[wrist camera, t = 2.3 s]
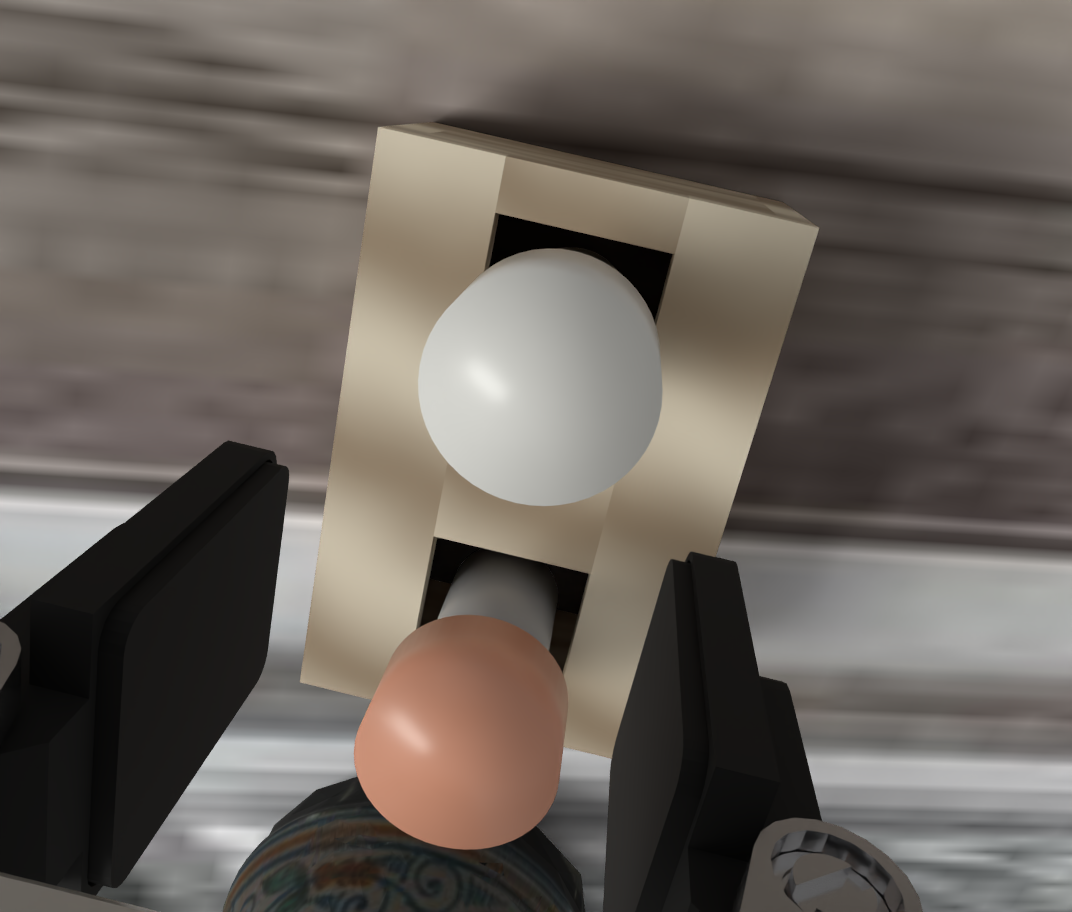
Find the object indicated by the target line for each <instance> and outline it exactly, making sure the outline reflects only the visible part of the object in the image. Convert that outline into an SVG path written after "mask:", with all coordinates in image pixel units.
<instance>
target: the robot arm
mask: <svg viewBox="0 0 1072 912" xmlns="http://www.w3.org/2000/svg"><path fill="white" fill-rule="evenodd" d="M288 483H289V470H288V468H287V467H286V466H282V465H278V464H277V461H276V455H275V453H274V452H273V451H270V450H266V449H261V448H257V447H253V446H249V445H245V444H240V443H236V442H232V441H227V442H225V443H223V444H222V445H221V446H219V447H218V448H217V449H216V450H214V451H213V452H212V453H211V454H209V455H208V456H207V457H206V458H205V459H203V460H202V461H201V462H200V463H198V464H197V465H196V466H195V467H193V468H192V469H191V470H190V471H188V472H187V473H186V474H185V475H183V476H182V477H181V478H180V479H178V480H177V481H176V482H175V483H174V484H172V485H171V486H170V487H169V488H167V489H166V490H165V491H164V492H162V493H161V494H160V495H159V496H157V497H156V498H155V499H154V500H152V501H151V502H150V503H149V504H147V505H146V506H145V507H144V508H143V509H141V510H140V511H139V512H138V513H136V514H135V515H134V516H133V517H131V518H130V519H129V520H128V521H126V522H125V523H123V524H121V525H119V526H118V527H116V528H114V529H113V530H112V531H110V532H109V533H108V534H107V535H105V536H104V537H103V538H102V539H100V540H99V541H98V542H97V543H95V544H94V545H93V546H92V547H90V548H89V549H88V550H87V551H85V552H84V553H83V554H82V555H80V556H79V557H78V558H77V559H75V560H74V561H73V562H72V563H70V564H69V565H68V566H67V567H65V568H64V569H63V570H62V571H60V572H59V573H58V574H57V575H55V576H54V577H53V578H52V579H50V580H49V581H48V582H47V583H45V584H44V585H43V586H42V587H40V588H39V589H38V590H37V591H35V592H34V593H33V594H32V595H30V596H29V597H28V598H27V599H25V600H24V601H23V602H22V603H20V604H19V605H18V606H17V607H15V608H14V609H13V610H12V611H10V612H9V613H8V614H7V615H5V616H4V617H3V618H2V619H0V912H158V911H154V910H150V909H146V908H142V907H138V906H135V905H131V904H127V903H123V902H119V901H115V900H111V899H107V898H103V897H99V896H96V895H97V893H98V892H99V890H100V889H101V888H102V886H107V887H111V888H117V887H118V886H120V885H121V884H122V883H123V881H124V880H125V879H126V877H127V876H128V874H129V873H130V871H131V870H132V868H133V867H134V865H135V864H136V862H137V861H138V859H139V858H140V856H141V855H142V854H143V852H144V851H145V849H146V848H147V846H148V845H149V843H150V842H151V840H152V839H153V837H154V836H155V834H156V833H157V831H158V830H159V828H160V827H161V825H162V824H163V822H164V821H165V819H166V818H167V816H168V815H169V813H170V812H171V810H172V809H173V807H174V806H175V804H176V803H177V801H178V800H179V798H180V797H181V795H182V794H183V792H184V791H185V789H186V788H187V786H188V785H189V783H190V782H191V780H192V779H193V777H194V776H195V774H196V773H197V771H198V770H199V768H200V767H201V765H202V764H203V762H204V761H205V759H206V758H207V756H208V755H209V753H210V752H211V750H212V749H213V747H214V746H215V745H216V743H217V742H218V740H219V739H220V737H221V736H222V734H223V733H224V731H225V730H226V728H227V727H228V725H229V724H230V722H231V721H232V719H233V718H234V716H235V715H236V713H237V712H238V710H239V709H240V707H241V706H242V704H243V703H244V701H245V700H246V698H247V697H248V695H249V694H250V692H251V691H252V689H253V688H254V686H255V685H256V683H257V681H258V680H259V678H260V675H261V673H262V671H263V668H264V665H265V661H266V657H267V651H268V644H269V636H270V628H271V620H272V612H273V604H274V596H275V588H276V580H277V572H278V564H279V556H280V548H281V540H282V531H283V523H284V515H285V507H286V499H287V491H288ZM603 912H923V911H922V907H921V903H920V898H919V896H918V894H917V893H916V891H915V889H914V888H913V886H912V884H911V882H910V881H909V879H908V877H907V876H906V875H905V874H904V873H903V872H902V870H901V869H900V868H899V867H898V866H897V865H896V864H895V863H894V862H893V861H892V860H891V859H890V858H889V857H888V856H887V855H886V854H885V853H883V852H882V851H880V850H879V849H878V848H876V847H875V846H874V845H872V844H871V843H870V842H868V841H867V840H866V839H864V838H862V837H860V836H858V835H856V834H854V833H852V832H850V831H848V830H846V829H844V828H842V827H839V826H836V825H833V824H830V823H826V822H823V821H822V819H821V815H820V811H819V807H818V803H817V799H816V795H815V791H814V787H813V783H812V779H811V775H810V771H809V766H808V762H807V758H806V754H805V750H804V746H803V742H802V738H801V734H800V730H799V726H798V722H797V718H796V714H795V710H794V706H793V702H792V698H791V694H790V690H789V688H788V686H787V684H786V683H784V682H782V681H777V680H773V679H769V678H765V677H761V676H759V672H758V667H757V662H756V657H755V652H754V647H753V642H752V637H751V632H750V627H749V622H748V617H747V612H746V607H745V602H744V597H743V592H742V587H741V582H740V577H739V572H738V567H737V564H736V562H734V561H730V560H725V559H721V558H717V557H713V556H709V555H705V554H700V553H696V552H690V553H689V554H688V556H687V558H686V560H685V562H683V561H679V560H675V559H670V561H669V563H668V565H667V568H666V571H665V575H664V578H663V581H662V585H661V588H660V592H659V595H658V598H657V602H656V605H655V608H654V612H653V615H652V619H651V622H650V625H649V629H648V632H647V636H646V639H645V642H644V646H643V649H642V652H641V656H640V659H639V663H638V666H637V669H636V673H635V676H634V679H633V683H632V686H631V690H630V693H629V696H628V700H627V703H626V707H625V710H624V713H623V717H622V720H621V723H620V727H619V730H618V734H617V737H616V741H615V745H614V749H613V755H612V761H611V769H610V787H609V806H608V825H607V844H606V864H605V883H604V902H603Z"/></svg>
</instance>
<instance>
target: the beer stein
mask: <svg viewBox="0 0 1072 912" xmlns="http://www.w3.org/2000/svg"><path fill="white" fill-rule="evenodd" d="M223 912H585V908H584V898H583V889H582V880H581V874H580V873H579V872H578V871H577V870H576V869H575V868H574V867H573V866H572V865H571V863H570V862H569V861H568V860H567V859H566V858H565V857H564V856H563V855H562V854H561V853H560V851H559V850H558V849H557V848H556V847H555V846H554V845H553V844H552V843H551V842H550V841H549V839H548V838H547V837H546V836H545V835H544V834H543V833H542V832H541V831H540V830H539V829H538V828H537V826H535V827H534V828H533V829H531V830H530V831H528V832H527V833H525V834H524V835H522V836H521V837H519V838H517V839H515V840H513V841H510V842H508V843H505V844H502V845H499V846H495V847H490V848H484V849H467V850H463V849H452V848H446V847H441V846H437V845H434V844H430V843H427V842H424V841H422V840H419V839H417V838H415V837H413V836H411V835H409V834H407V833H405V832H403V831H402V830H400V829H399V828H397V827H396V826H395V825H393V824H392V823H390V822H389V821H388V820H387V819H386V818H385V817H384V816H382V815H381V813H380V812H379V811H378V810H377V809H376V808H375V807H374V806H373V804H372V803H371V802H370V800H369V799H368V797H367V796H366V794H365V792H364V790H363V788H362V786H361V784H360V781H359V779H358V777H356V778H352V779H349V780H346V781H343V782H340V783H337V784H334V785H331V786H327V787H324V788H321V789H318V790H316V791H315V792H313V793H312V794H311V795H310V796H309V797H307V798H306V799H305V800H304V801H303V802H301V803H300V804H299V805H298V806H297V807H296V808H294V809H293V810H292V811H291V812H290V813H288V814H287V815H286V816H285V817H284V818H282V819H281V820H280V821H279V822H278V823H276V824H275V826H274V827H273V829H272V831H271V833H270V834H269V836H268V837H267V838H265V839H264V840H263V841H262V842H261V843H260V844H259V845H258V847H257V848H256V849H255V850H254V851H253V852H252V854H251V855H250V856H249V857H248V858H247V859H246V861H245V862H244V864H243V865H242V867H241V868H240V870H239V871H238V873H237V876H236V878H235V880H234V882H233V884H232V886H231V888H230V891H229V893H228V896H227V899H226V902H225V904H224V907H223Z"/></svg>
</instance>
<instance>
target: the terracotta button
mask: <svg viewBox="0 0 1072 912" xmlns="http://www.w3.org/2000/svg"><path fill="white" fill-rule="evenodd" d="M557 602H558V589H557V584H556V581H555V578H554V576H553V574H552V572H551V571H550V569H549V568H548V567H547V565H546V564H545V563H543V562H539V561H534V560H530V559H526V558H522V557H518V556H514V555H510V554H505V553H501V552H497V551H493V550H489V549H485V548H482V549H480V550H478V551H476V552H474V553H473V554H471V555H470V556H468V557H467V558H466V559H465V560H464V561H463V562H462V564H461V565H460V566H459V568H458V570H457V572H456V574H455V576H454V579H453V581H452V584H451V586H450V589H449V591H448V594H447V596H446V599H445V601H444V604H443V606H442V609H441V611H440V614H439V616H438V619H437V620H434V621H432V622H429V623H427V624H425V625H423V626H421V627H420V628H418V629H416V630H415V631H413V632H412V633H411V634H410V635H408V636H407V637H406V638H405V639H404V640H403V641H402V642H401V643H400V645H399V646H398V647H397V649H396V650H395V652H394V653H393V655H392V657H391V659H390V661H389V663H388V666H387V668H386V670H385V672H384V674H383V677H382V679H381V681H380V683H379V685H378V687H377V690H376V692H375V694H374V696H373V698H372V701H371V703H370V705H369V707H368V709H367V712H366V714H365V716H364V718H363V720H362V723H361V725H360V727H359V729H358V732H357V736H356V740H355V747H354V761H355V768H356V772H357V776H358V779H359V781H360V784H361V786H362V788H363V790H364V792H365V794H366V796H367V797H368V799H369V800H370V802H371V803H372V804H373V806H374V807H375V808H376V809H377V810H378V811H379V812H380V813H381V815H382V816H384V817H385V818H386V819H387V820H388V821H389V822H390V823H392V824H393V825H395V826H396V827H397V828H399V829H400V830H402V831H403V832H405V833H407V834H409V835H411V836H413V837H415V838H417V839H419V840H422V841H424V842H427V843H430V844H434V845H437V846H441V847H446V848H452V849H463V850H467V849H484V848H490V847H495V846H499V845H502V844H505V843H508V842H510V841H513V840H515V839H517V838H519V837H521V836H522V835H524V834H525V833H527V832H528V831H530V830H531V829H533V828H534V827H535V826H536V825H537V824H538V823H539V822H540V821H541V820H542V819H543V817H544V816H545V815H546V813H547V812H548V811H549V809H550V807H551V805H552V803H553V801H554V799H555V796H556V793H557V789H558V784H559V777H560V769H561V761H562V754H563V746H564V738H565V730H566V722H567V714H568V691H567V685H566V682H565V678H564V676H563V673H562V671H561V669H560V667H559V665H558V664H557V662H556V660H555V659H554V657H553V656H552V655H551V653H550V652H549V648H550V642H551V637H552V631H553V625H554V620H555V614H556V608H557Z"/></svg>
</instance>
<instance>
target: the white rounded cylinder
mask: <svg viewBox="0 0 1072 912" xmlns="http://www.w3.org/2000/svg"><path fill="white" fill-rule="evenodd" d="M662 393H663V389H662V372H661V356H660V343H659V337H658V332H657V328H656V325H655V322H654V319H653V316H652V314H651V312H650V310H649V308H648V306H647V304H646V302H645V301H644V299H643V298H642V296H641V295H640V293H639V292H638V291H637V289H636V288H635V287H634V286H633V285H632V284H631V283H630V282H629V281H628V280H627V278H625V277H624V276H623V275H622V274H620V273H619V272H618V270H617V269H616V268H615V267H614V266H613V265H612V264H611V263H610V262H609V261H608V260H607V259H605V258H604V257H602V256H601V255H599V254H597V253H595V252H593V251H590V250H587V249H584V248H578V247H562V248H557V249H547V248H546V249H537V250H530V251H526V252H522V253H518V254H515V255H513V256H510V257H508V258H505V259H503V260H501V261H499V262H498V263H496V264H494V265H492V266H491V267H490V268H488V269H487V270H486V271H484V272H483V273H482V274H480V275H479V276H478V277H477V278H476V279H475V280H474V281H473V282H472V283H471V284H470V285H469V286H468V287H467V288H466V290H465V291H464V292H463V293H462V294H461V295H460V296H459V297H458V298H457V299H456V300H455V301H454V302H453V303H452V304H451V305H450V306H449V307H448V308H447V309H446V310H445V312H444V313H443V314H442V316H441V317H440V318H439V320H438V321H437V322H436V324H435V326H434V328H433V329H432V331H431V333H430V335H429V337H428V339H427V342H426V344H425V347H424V349H423V353H422V357H421V361H420V366H419V376H418V395H419V402H420V408H421V412H422V416H423V419H424V422H425V425H426V428H427V430H428V432H429V434H430V436H431V439H432V440H433V442H434V444H435V445H436V447H437V449H438V450H439V452H440V453H441V454H442V456H443V457H444V458H445V459H446V461H447V462H448V463H449V464H450V465H451V466H452V467H453V468H454V469H455V470H456V471H457V472H458V473H459V474H460V475H461V476H462V477H464V478H465V479H466V480H468V481H469V482H470V483H471V484H473V485H475V486H476V487H478V488H480V489H481V490H483V491H485V492H487V493H489V494H491V495H493V496H496V497H498V498H501V499H504V500H507V501H511V502H514V503H519V504H525V505H532V506H555V505H563V504H569V503H574V502H577V501H580V500H584V499H587V498H590V497H592V496H594V495H596V494H598V493H600V492H602V491H604V490H606V489H607V488H609V487H610V486H612V485H614V484H615V483H617V482H618V481H619V480H620V479H621V478H623V477H624V476H625V475H626V474H627V473H628V472H629V471H630V470H631V469H632V468H633V467H634V466H635V465H636V464H637V462H638V461H639V460H640V458H641V457H642V455H643V454H644V453H645V451H646V450H647V448H648V446H649V444H650V442H651V440H652V438H653V436H654V433H655V430H656V427H657V425H658V422H659V417H660V412H661V407H662Z"/></svg>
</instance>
